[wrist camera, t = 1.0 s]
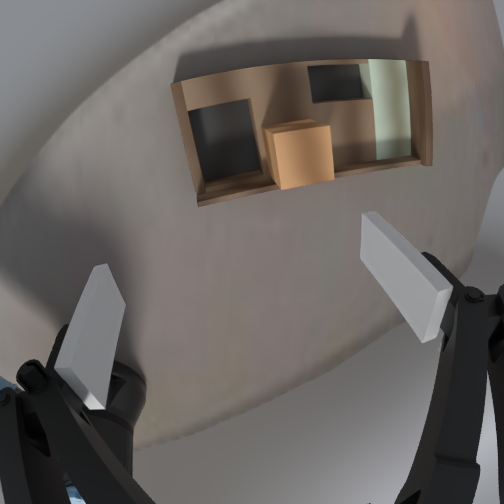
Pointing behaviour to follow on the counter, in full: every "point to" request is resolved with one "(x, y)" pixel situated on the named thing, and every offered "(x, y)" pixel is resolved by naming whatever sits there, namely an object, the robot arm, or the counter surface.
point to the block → (298, 153)
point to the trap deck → (301, 108)
